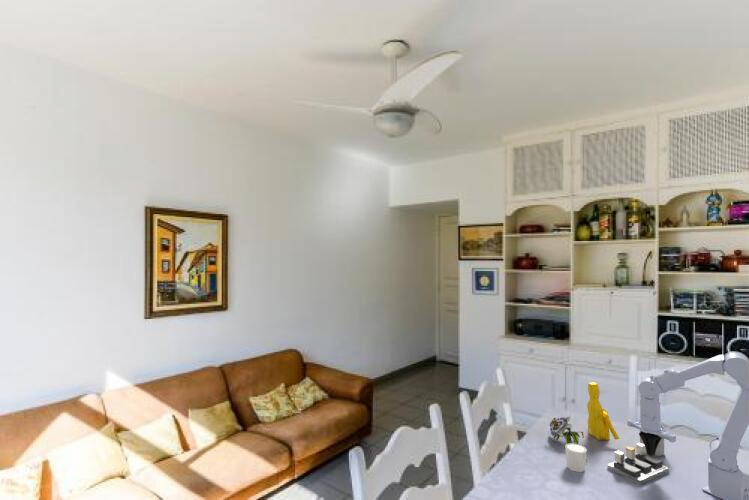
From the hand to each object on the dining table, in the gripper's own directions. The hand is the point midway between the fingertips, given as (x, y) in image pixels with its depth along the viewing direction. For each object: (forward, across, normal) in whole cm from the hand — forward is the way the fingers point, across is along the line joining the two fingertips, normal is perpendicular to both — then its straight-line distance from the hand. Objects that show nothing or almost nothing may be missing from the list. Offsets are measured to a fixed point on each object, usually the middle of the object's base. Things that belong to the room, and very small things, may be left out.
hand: (651, 454), depth 137 cm
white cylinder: (+6, -14, -19) cm, 25 cm away
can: (+7, -8, +15) cm, 18 cm away
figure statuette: (+6, -25, +9) cm, 27 cm away
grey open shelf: (+6, -3, -2) cm, 7 cm away
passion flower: (+6, -29, -6) cm, 30 cm away
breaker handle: (+3, -6, -2) cm, 7 cm away
